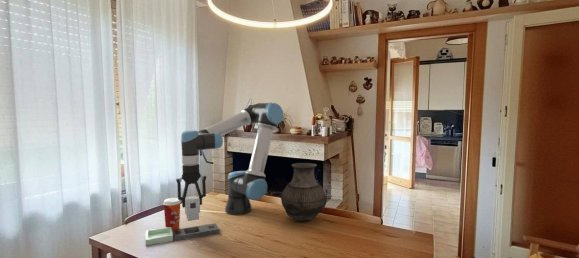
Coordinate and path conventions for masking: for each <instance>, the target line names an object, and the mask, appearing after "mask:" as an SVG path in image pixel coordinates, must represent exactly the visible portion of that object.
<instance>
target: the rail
mask: <svg viewBox="0 0 579 258" xmlns="http://www.w3.org/2000/svg"><path fill="white" fill-rule="evenodd" d="M172 233H173V241H174V242H177V241H182V240H188V239H193V238H199V237H205V236H206V237H207V236H212V235H216V234H217V235H219V234H220V228H219V226H218V225H217V223H216V222H215V223H209V224H208V223H207V224H201V225H196V226H189V227H183V228H179V229H176V230H173V232H172Z"/></svg>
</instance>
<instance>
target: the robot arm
mask: <svg viewBox="0 0 579 258" xmlns="http://www.w3.org/2000/svg"><path fill="white" fill-rule="evenodd" d="M283 110H284V109H282V107H281V105H279V103H276V102H260V103H259V102H257V103H254V104H253V105H251V106H248V107H246V108H244V109H242V110H241V111H240V112H239V113H237V114H234V115H233V116H229V117H228V118H226V119H222V120H221V121H219V122H216V123H214V124H212V125H210V126H207V127H205V128H203V129H200V130H183V131H182V132H181V134H180V135H181V137H180V139H181V140H180V143H181V161H182V162H181V164H182V167H181V168H182V175H181V176H180V177H177V178H175V181H176V183H177V187H176V188H177V198H178V200H180V201H181V205H182V208H184V215H186V216H187V200H186V197H187V193H188V189H189V185H192V184H193V185H194V186H195V189H196V192H197V197H198V202H199V214H200V213H201V206H202V205H203V198H205V197H207V192H206V191H207V190H206V180H207V175H205V174H203V175H202V174H201V173H200V172H201V171H200V170H201V169H200V164H199V163H200V151H202V150H204V151H205V150H215V149H219V148H222V146H223V143H224V142H223V141H224V140H223V136H225V135H227V134H229V133H232V132H233V131H235V130H238V129H240V128H242V127H243V126H250V125H253V124H256V126H257V132H256V136H255V141H254V145H253V148H252V153H251V158H250V161H249V166H248V169H247V170H238V171H232V172H229V173H228V176H227V180H228V181H227V184H228V185H227V189H228V190H227V193H228V196H227V197H228V198H227V202H226V204H225V208H224V209H225V210H224V211H225V213H226V214H228V215H231V216H232V215H233V216H235V215H236V216H238V215H240V216H241V215H246V214H249V213H250V212H252V204H251V201H250V200H253V201H257V200H259V199H260V200H261V198H263V197H264V196H265V195H266V194H267V191H268V184H267V181H266V174H265V168H266V164H267V160H268V154H269V151H270V147H271V141H272V137H273V134H274V131H275V130H276V129H277V127H278V124H280V123H282V121H283V119H284V111H283ZM182 180H183V182H184V188H183V193H182V192H181V191H182V189H181V188H182V185H181V183H182ZM199 180H201V189H202V191H201V189H200V187H199V183H198V182H199ZM201 192H202V193H201Z"/></svg>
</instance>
